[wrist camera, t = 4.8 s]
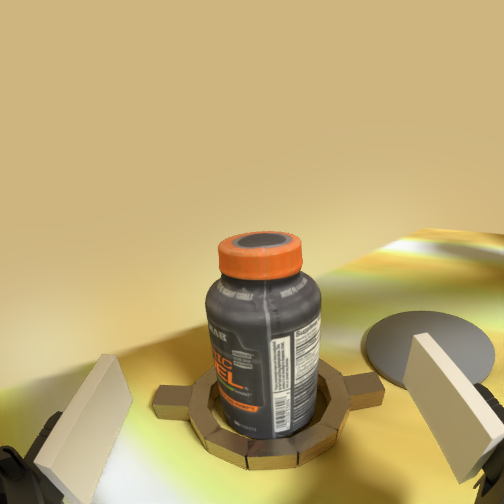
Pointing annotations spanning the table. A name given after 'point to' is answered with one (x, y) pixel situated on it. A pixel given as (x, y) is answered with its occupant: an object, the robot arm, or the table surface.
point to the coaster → (445, 335)
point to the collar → (273, 450)
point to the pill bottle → (265, 334)
